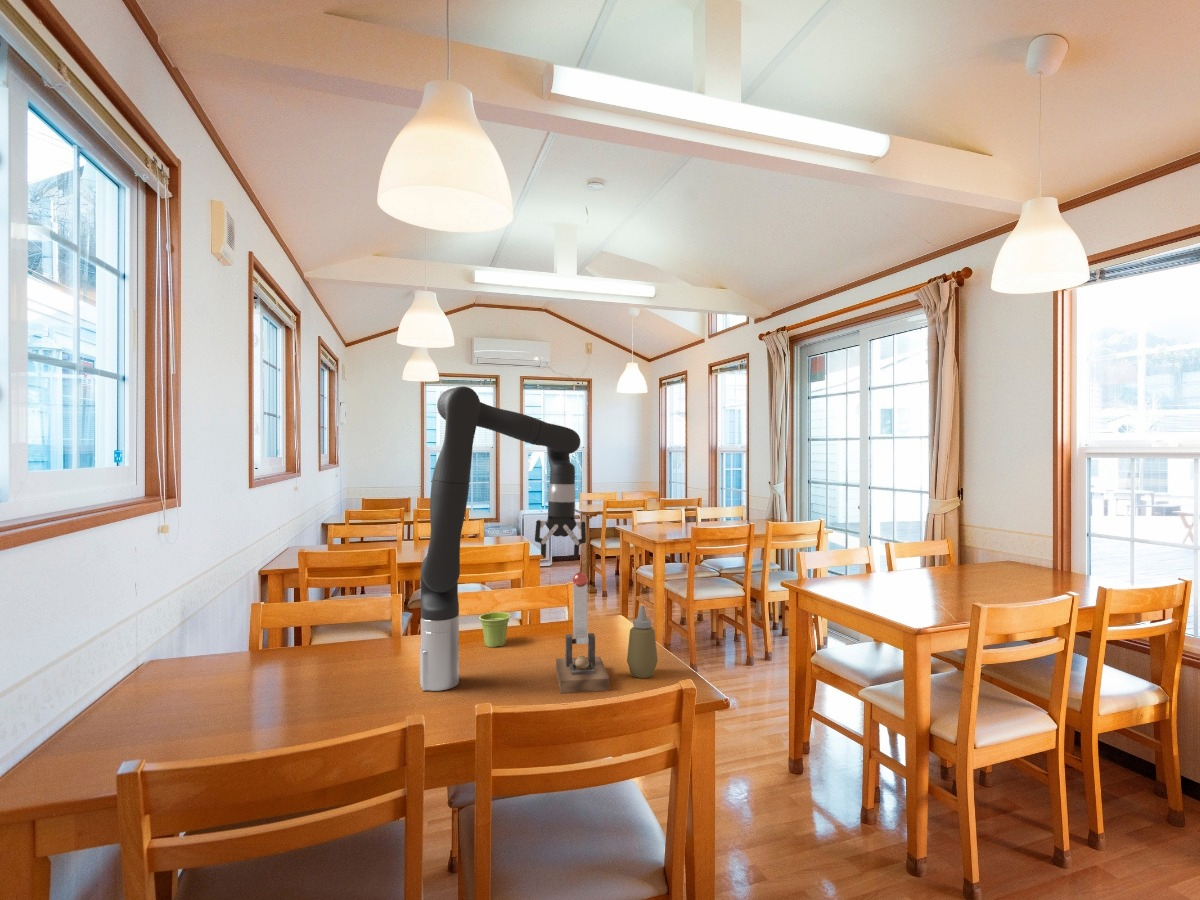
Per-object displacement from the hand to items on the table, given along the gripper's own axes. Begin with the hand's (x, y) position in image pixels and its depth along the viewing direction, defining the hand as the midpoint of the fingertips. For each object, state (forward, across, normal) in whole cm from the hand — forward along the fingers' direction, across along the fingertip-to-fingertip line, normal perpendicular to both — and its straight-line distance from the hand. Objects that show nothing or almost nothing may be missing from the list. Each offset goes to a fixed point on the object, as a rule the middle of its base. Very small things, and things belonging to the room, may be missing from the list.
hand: (559, 557), depth 169 cm
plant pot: (+30, -19, +16) cm, 39 cm away
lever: (+19, +6, -12) cm, 23 cm away
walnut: (+26, +7, -15) cm, 31 cm away
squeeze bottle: (+29, +23, -11) cm, 38 cm away
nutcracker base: (+29, +7, -13) cm, 33 cm away
